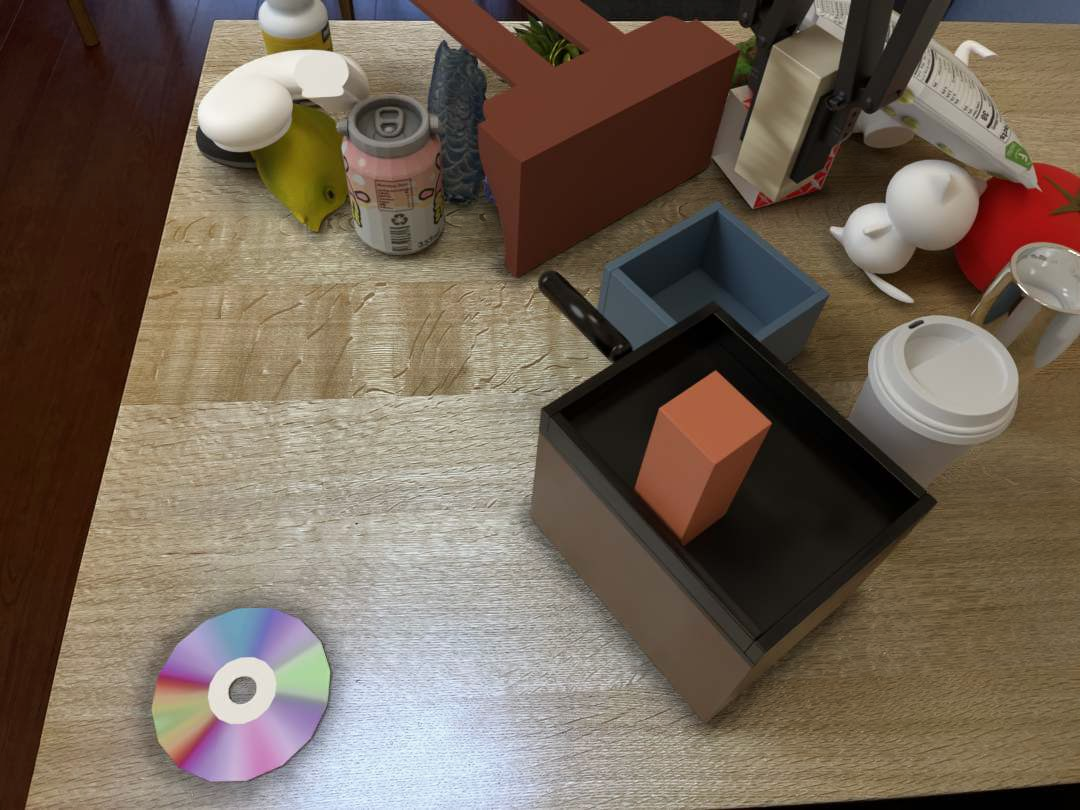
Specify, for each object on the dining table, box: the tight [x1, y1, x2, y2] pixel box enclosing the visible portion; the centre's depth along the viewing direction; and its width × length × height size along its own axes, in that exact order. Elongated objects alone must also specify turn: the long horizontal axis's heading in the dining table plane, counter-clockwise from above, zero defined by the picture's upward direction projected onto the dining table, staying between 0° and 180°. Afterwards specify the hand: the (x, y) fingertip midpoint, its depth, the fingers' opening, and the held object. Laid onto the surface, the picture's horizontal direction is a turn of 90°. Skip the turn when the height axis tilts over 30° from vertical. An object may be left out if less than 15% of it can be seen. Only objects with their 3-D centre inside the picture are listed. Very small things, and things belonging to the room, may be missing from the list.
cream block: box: [734, 24, 843, 204], centre depth 58 cm, size 4×4×10 cm
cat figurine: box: [829, 159, 987, 304], centre depth 76 cm, size 9×11×12 cm
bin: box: [596, 200, 831, 365], centre depth 72 cm, size 13×13×8 cm
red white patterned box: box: [711, 85, 841, 210], centre depth 83 cm, size 8×8×8 cm
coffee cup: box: [847, 314, 1019, 489], centre depth 62 cm, size 10×10×15 cm
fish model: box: [427, 38, 488, 206], centre depth 85 cm, size 7×21×5 cm, turn 5°
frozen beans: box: [798, 0, 1042, 192], centre depth 75 cm, size 21×6×25 cm
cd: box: [151, 607, 332, 783], centre depth 57 cm, size 11×11×1 cm
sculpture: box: [197, 50, 371, 152], centre depth 73 cm, size 12×15×8 cm
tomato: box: [954, 162, 1080, 293], centre depth 76 cm, size 14×13×10 cm
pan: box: [529, 269, 939, 725], centre depth 59 cm, size 28×15×15 cm, turn 38°
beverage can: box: [336, 93, 446, 256], centre depth 75 cm, size 9×8×12 cm
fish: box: [250, 100, 349, 233], centre depth 81 cm, size 3×16×10 cm
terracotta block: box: [634, 371, 772, 546], centre depth 47 cm, size 4×4×10 cm
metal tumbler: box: [966, 242, 1080, 387], centre depth 67 cm, size 7×7×15 cm
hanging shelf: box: [408, 0, 740, 278], centre depth 82 cm, size 24×13×30 cm
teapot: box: [851, 39, 1000, 149], centre depth 88 cm, size 10×20×9 cm
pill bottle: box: [257, 0, 334, 107], centre depth 85 cm, size 6×6×12 cm
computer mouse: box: [195, 99, 300, 172], centre depth 83 cm, size 7×12×4 cm, turn 159°
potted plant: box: [495, 12, 584, 89], centre depth 84 cm, size 12×13×15 cm
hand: (781, 153), depth 60 cm, fingers closed on cream block, 4 cm apart
